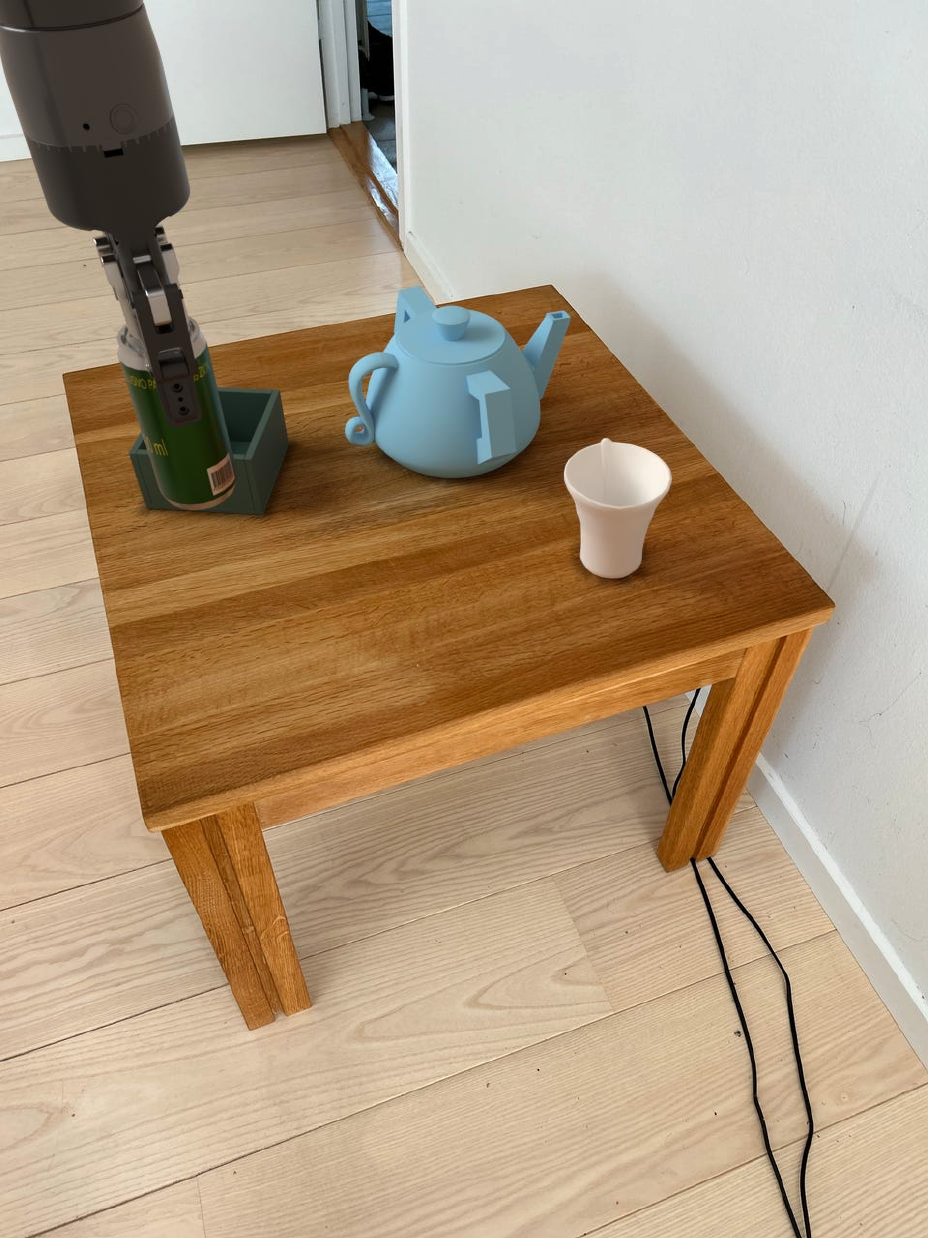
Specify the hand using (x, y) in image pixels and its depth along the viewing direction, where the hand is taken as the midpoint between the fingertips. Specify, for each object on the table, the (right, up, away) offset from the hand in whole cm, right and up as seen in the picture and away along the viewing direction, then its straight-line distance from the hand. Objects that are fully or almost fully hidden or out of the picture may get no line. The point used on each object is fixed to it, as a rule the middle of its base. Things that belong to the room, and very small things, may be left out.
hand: (175, 396), depth 60 cm
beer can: (0, -5, +6) cm, 8 cm away
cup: (+31, -9, +24) cm, 41 cm away
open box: (-6, 0, +33) cm, 33 cm away
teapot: (+18, +5, +38) cm, 42 cm away
